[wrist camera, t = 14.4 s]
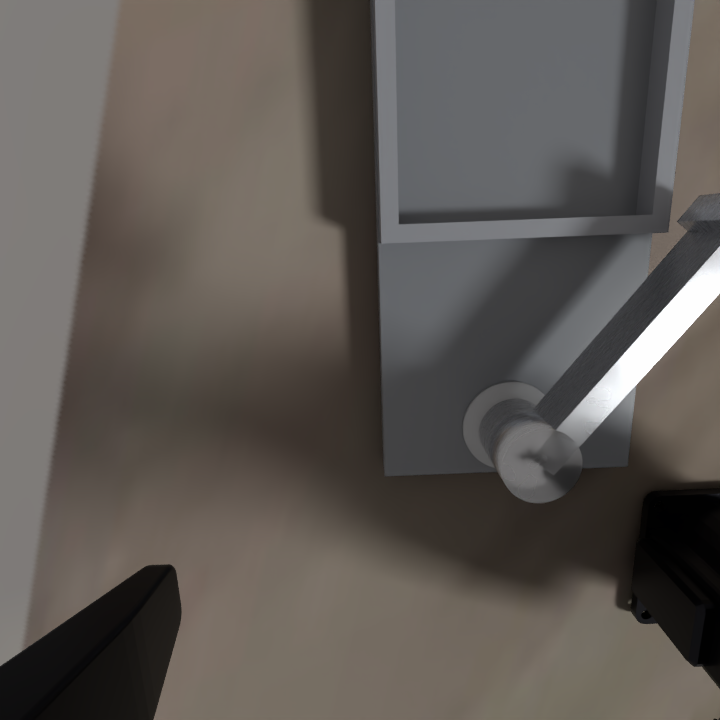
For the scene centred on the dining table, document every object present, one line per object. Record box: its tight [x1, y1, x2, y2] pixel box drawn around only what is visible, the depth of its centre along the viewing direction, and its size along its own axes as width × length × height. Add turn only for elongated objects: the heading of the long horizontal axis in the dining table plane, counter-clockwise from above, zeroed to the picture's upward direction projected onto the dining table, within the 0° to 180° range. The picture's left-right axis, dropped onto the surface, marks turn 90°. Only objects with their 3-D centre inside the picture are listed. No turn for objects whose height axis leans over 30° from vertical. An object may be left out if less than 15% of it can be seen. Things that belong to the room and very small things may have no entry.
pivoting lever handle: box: [479, 193, 720, 503], centre depth 17 cm, size 3×11×3 cm, turn 143°
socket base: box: [370, 0, 695, 476], centre depth 17 cm, size 10×25×2 cm, turn 2°
